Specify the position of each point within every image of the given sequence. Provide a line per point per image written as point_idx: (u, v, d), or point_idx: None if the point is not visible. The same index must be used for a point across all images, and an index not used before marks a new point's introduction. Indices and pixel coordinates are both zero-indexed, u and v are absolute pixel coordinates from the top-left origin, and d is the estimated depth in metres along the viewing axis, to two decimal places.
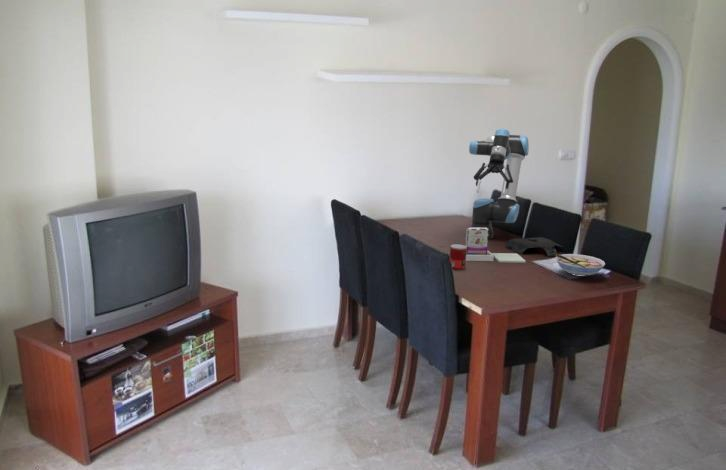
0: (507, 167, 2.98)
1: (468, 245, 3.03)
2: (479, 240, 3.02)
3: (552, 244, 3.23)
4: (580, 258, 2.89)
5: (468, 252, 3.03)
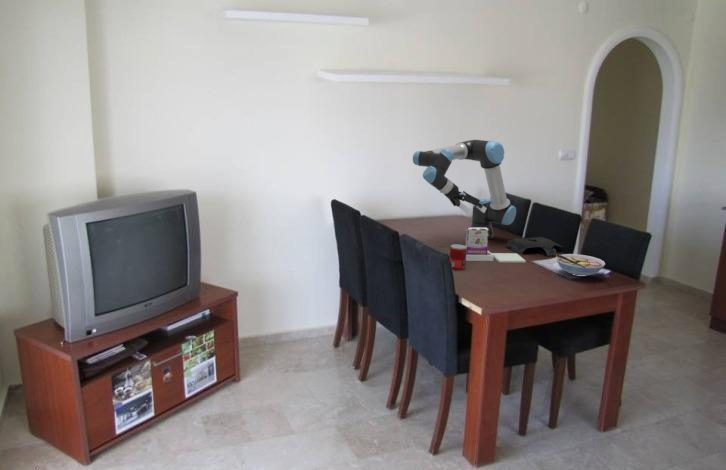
0: None
1: (468, 245, 3.03)
2: (479, 240, 3.02)
3: (552, 244, 3.23)
4: (580, 258, 2.89)
5: (468, 252, 3.03)
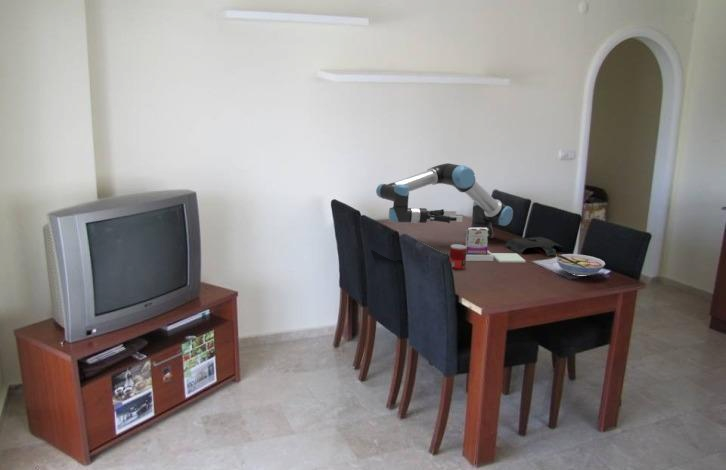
0: (433, 220, 2.93)
1: (468, 245, 3.03)
2: (479, 240, 3.02)
3: (551, 244, 3.23)
4: (580, 258, 2.89)
5: (468, 252, 3.03)
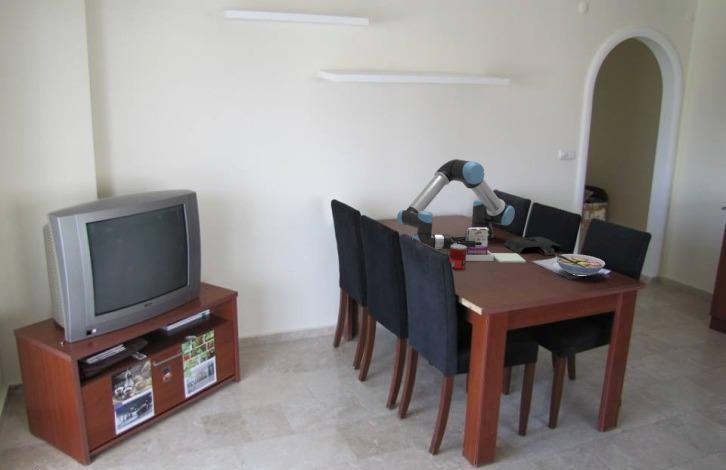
0: None
1: None
2: (479, 239, 3.02)
3: (550, 243, 3.24)
4: (580, 258, 2.89)
5: (468, 252, 3.03)
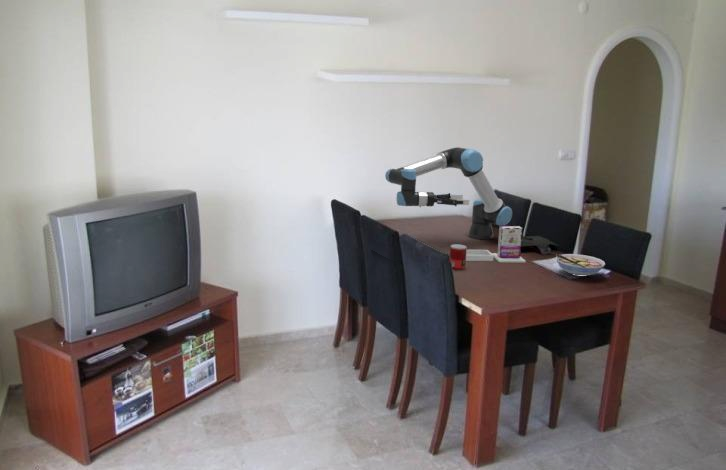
0: (440, 203, 2.99)
1: (502, 244, 3.03)
2: (512, 238, 3.02)
3: (547, 243, 3.26)
4: (580, 258, 2.89)
5: (502, 251, 3.03)
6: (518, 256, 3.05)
